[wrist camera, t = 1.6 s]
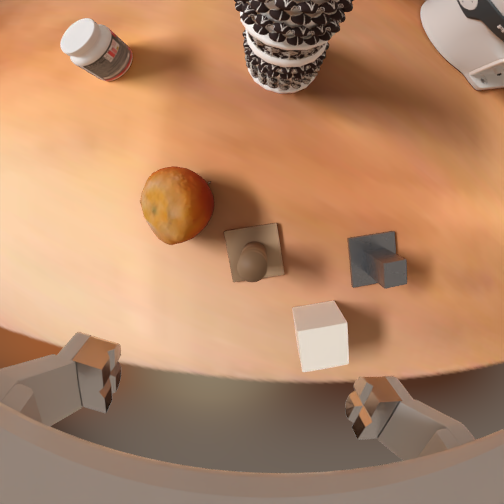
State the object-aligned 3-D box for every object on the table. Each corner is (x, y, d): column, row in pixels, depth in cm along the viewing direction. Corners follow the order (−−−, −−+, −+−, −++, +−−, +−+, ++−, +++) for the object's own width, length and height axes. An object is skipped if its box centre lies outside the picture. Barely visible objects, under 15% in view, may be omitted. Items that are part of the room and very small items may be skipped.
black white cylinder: (234, 42, 30) (196, -116, 5) (306, 27, 29) (346, -124, 4) (255, 104, 31) (236, -50, 7) (331, 88, 31) (426, -48, 6)
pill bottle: (140, 46, 30) (107, 12, 20) (124, 83, 31) (85, 57, 21) (106, 45, 30) (69, 16, 20) (91, 81, 31) (49, 58, 21)
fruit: (239, 229, 33) (188, 247, 26) (189, 235, 37) (139, 251, 31) (226, 157, 31) (171, 158, 25) (177, 172, 36) (125, 178, 29)
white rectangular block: (333, 300, 36) (347, 322, 29) (336, 337, 37) (348, 363, 30) (292, 307, 36) (297, 331, 29) (296, 344, 37) (302, 372, 30)
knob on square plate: (276, 222, 34) (279, 230, 27) (284, 273, 35) (288, 293, 28) (224, 231, 34) (214, 240, 28) (233, 281, 36) (226, 302, 29)
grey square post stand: (392, 230, 34) (419, 240, 27) (395, 277, 35) (420, 295, 28) (347, 238, 34) (366, 249, 27) (351, 286, 35) (369, 307, 28)
